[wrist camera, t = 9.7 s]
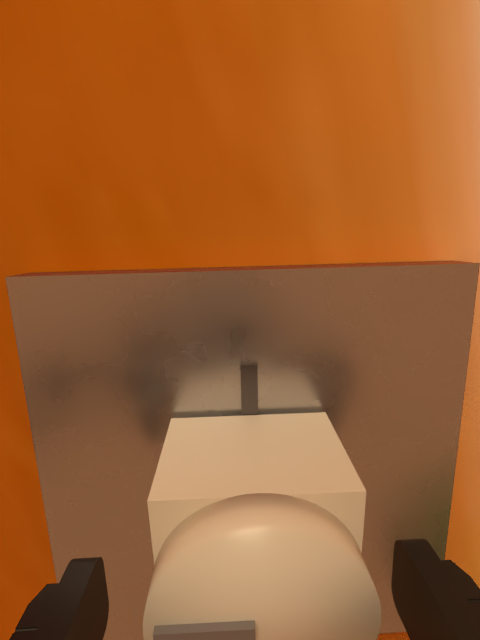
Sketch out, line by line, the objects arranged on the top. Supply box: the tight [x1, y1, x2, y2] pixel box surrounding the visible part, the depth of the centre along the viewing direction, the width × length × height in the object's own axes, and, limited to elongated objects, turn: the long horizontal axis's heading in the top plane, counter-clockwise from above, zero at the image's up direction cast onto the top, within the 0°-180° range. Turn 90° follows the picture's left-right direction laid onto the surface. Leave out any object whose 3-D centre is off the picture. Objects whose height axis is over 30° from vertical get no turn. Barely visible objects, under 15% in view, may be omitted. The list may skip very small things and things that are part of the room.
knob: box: [143, 412, 381, 640], centre depth 11 cm, size 6×6×5 cm
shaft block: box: [6, 261, 480, 640], centre depth 13 cm, size 16×16×5 cm
